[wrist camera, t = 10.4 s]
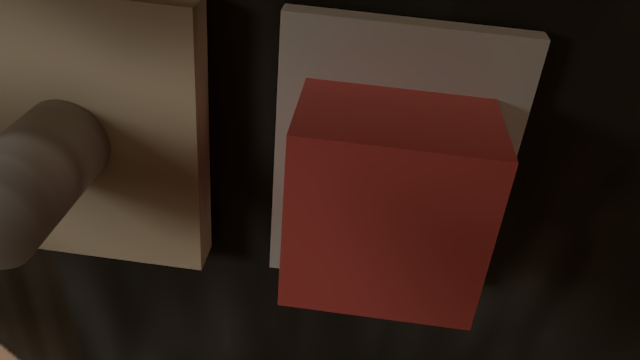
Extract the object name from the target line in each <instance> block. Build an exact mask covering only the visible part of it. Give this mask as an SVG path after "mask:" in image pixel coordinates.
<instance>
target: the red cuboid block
mask: <svg viewBox="0 0 640 360" xmlns="http://www.w3.org/2000/svg"><path fill="white" fill-rule="evenodd" d="M518 164H519V162H518V159H517V156H516V153H515V151H514V148H513V145H512V142H511V139H510V136H509V133H508V130H507V127H506V125H505V122H504V119H503V116H502V113H501V110H500V107H499V104H498V101H497V99H490V98H482V97H473V96H464V95H455V94H446V93H437V92H429V91H420V90H411V89H402V88H393V87H384V86H376V85H367V84H358V83H349V82H340V81H331V80H323V79H314V78H306V79H305V82H304V85H303V88H302V91H301V94H300V97H299V100H298V103H297V106H296V109H295V112H294V115H293V118H292V120H291V123H290V126H289V129H288V132H287V135H286V154H285V173H284V192H283V211H282V231H281V250H280V269H279V288H278V305H283V306H290V307H297V308H305V309H312V310H320V311H327V312H335V313H342V314H350V315H357V316H365V317H372V318H380V319H387V320H395V321H402V322H410V323H417V324H425V325H432V326H440V327H447V328H455V329H462V330H470V329H471V326H472V322H473V319H474V315H475V312H476V308H477V305H478V302H479V298H480V295H481V291H482V288H483V284H484V281H485V277H486V274H487V271H488V267H489V264H490V260H491V257H492V253H493V250H494V246H495V243H496V240H497V236H498V233H499V229H500V226H501V222H502V219H503V215H504V212H505V209H506V205H507V202H508V198H509V195H510V191H511V188H512V184H513V181H514V178H515V174H516V171H517V167H518Z"/></svg>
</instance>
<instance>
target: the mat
mask: <svg viewBox="0 0 640 360" xmlns="http://www.w3.org/2000/svg"><path fill="white" fill-rule="evenodd" d="M550 41H551V40H550V39H549V37H548V36H547V34H546V33H545V32H542V31H533V30H524V29H515V28H506V27H497V26H487V25H478V24H469V23H460V22H451V21H442V20H433V19H424V18H415V17H406V16H396V15H387V14H378V13H369V12H360V11H351V10H342V9H333V8H324V7H315V6H305V5H296V4H287V3H285V4H284V6H283V8H282V9H281V19H280V42H279V64H278V87H277V110H276V132H275V155H274V178H273V200H272V223H271V246H270V267H273V268H280V250H281V231H282V211H283V192H284V173H285V154H286V135H287V132H288V129H289V126H290V123H291V120H292V118H293V115H294V112H295V109H296V106H297V103H298V100H299V97H300V94H301V91H302V88H303V85H304V82H305V79H306V78H314V79H323V80H331V81H340V82H349V83H358V84H367V85H376V86H384V87H393V88H402V89H411V90H420V91H429V92H437V93H446V94H455V95H464V96H473V97H482V98H490V99H497V101H498V104H499V107H500V110H501V113H502V116H503V119H504V122H505V125H506V127H507V130H508V133H509V136H510V139H511V142H512V145H513V148H514V151H515V153H516V156H517V155H518V151H519V148H520V144H521V141H522V137H523V134H524V131H525V127H526V124H527V120H528V117H529V113H530V110H531V106H532V103H533V99H534V96H535V93H536V89H537V86H538V82H539V79H540V75H541V72H542V68H543V65H544V62H545V58H546V55H547V51H548V48H549V44H550Z"/></svg>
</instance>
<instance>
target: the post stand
mask: <svg viewBox="0 0 640 360" xmlns="http://www.w3.org/2000/svg"><path fill="white" fill-rule="evenodd" d="M211 246H212V242H211V196H210V149H209V103H208V56H207V10H206V0H0V270H2V269H12V268H15V267H18V266H21V265H23V264H24V263H25V262H27V261H28V260H29V259H30V258H31V257H32V255H33V254H34V253H35V252H36V250H37V249H45V250H53V251H60V252H68V253H75V254H83V255H90V256H98V257H105V258H113V259H120V260H128V261H135V262H143V263H150V264H158V265H165V266H173V267H180V268H188V269H195V270H202V267H203V265H204V263H205V260H206V258H207V256H208V253H209V251H210V249H211Z"/></svg>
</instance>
